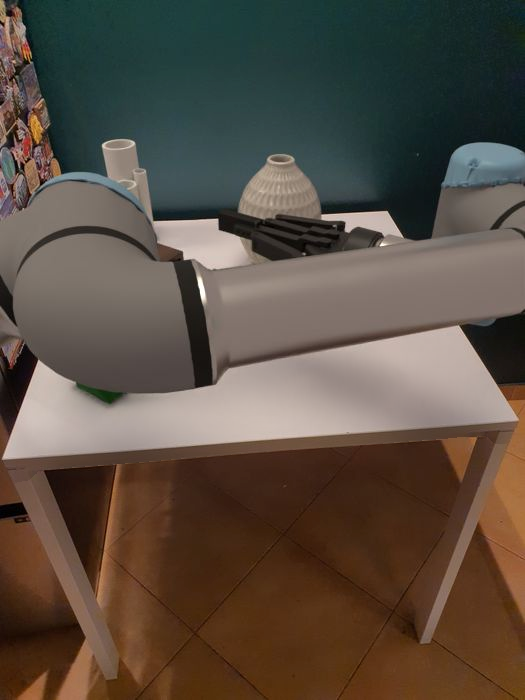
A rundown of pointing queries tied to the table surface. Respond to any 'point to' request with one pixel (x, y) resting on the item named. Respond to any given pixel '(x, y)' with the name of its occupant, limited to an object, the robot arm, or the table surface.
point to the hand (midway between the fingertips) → (221, 219)
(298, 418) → the table surface
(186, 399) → the table surface
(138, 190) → the vase
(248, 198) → the vase
